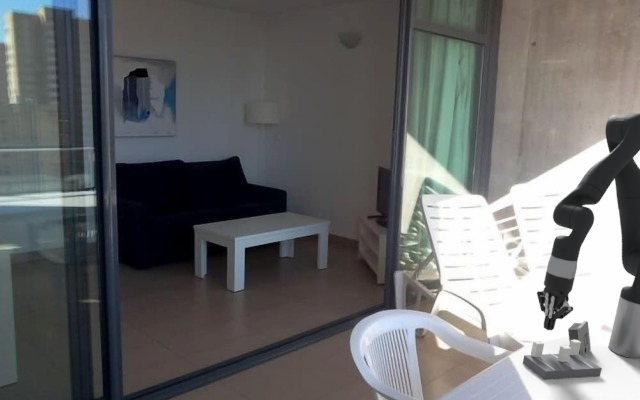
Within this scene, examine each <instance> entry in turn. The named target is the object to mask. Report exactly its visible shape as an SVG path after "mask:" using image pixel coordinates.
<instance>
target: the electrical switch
mask: <svg viewBox="0 0 640 400" xmlns="http://www.w3.org/2000/svg"><path fill="white" fill-rule="evenodd" d="M590 337H591V336H590V329H589V322H588V321H587V320H584V321H582V322H578V323H577V322H574V323H573V324H572V325H571V326H570V327H569V328H568V341H569V343H570V340H578V341H580V342H581V345H580V350H579V354H581V355H582V356H584V357H585V358H586V356H587V355H588V354H589V353H590V352H591V338H590Z"/></svg>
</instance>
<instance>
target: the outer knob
mask: <svg viewBox="0 0 640 400" xmlns="http://www.w3.org/2000/svg"><path fill="white" fill-rule="evenodd" d="M544 347H545V343H544V342H542V341H541V340H533V342H532V346H531V350H530V355H532V356H534V357H542V354H543V351H544Z"/></svg>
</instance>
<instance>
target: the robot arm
mask: <svg viewBox="0 0 640 400" xmlns="http://www.w3.org/2000/svg"><path fill="white" fill-rule="evenodd" d="M604 130H605V131H604V132H605V139H606V144H607V148H608V152H609V153H608V154H607V155H606V156H604V157H603V158H602V159H600V160H598V161H597V162H596V163H595V164H593V166H591V167H590V168H588V170H587V171H586V173H585V174H584V175H583V176H582V178H581V180H580V181H579V183H578V184H577V186H576V188H574V189H573V190H572V191H571V192H569V193H568V194H567V195H566V196H565V197H563V199H562V200H560V201H559V202H558V203H557V205H556V206H555V208H554V210H553V212H552V219H553V221H554V222H553V223H555V224H556V225H558V226H559V227H562V228H565V229H569V230H571V232H570V233H569V235H558V236H557V235H556V237H555V238H554V239H553V240H554V241H553V245H552V249H551V254H550V257H549V260H548V263H547V266H546V272H545V277H544V280H543V281H544V282H543V285H544V288H543V290H542V291H541V290H540V291H537V292H536V295H537V299H538V303H539V308H540V311H541V312H543V313H544V321H543V328H544V329H545V330H546V331H553V330H555V326H556V321H557V320H563V319H564V318H565V317H566V316H568V315H569V314H570V313H572V312H573V311H574V306H572V305H571V306H570V304H569V299H570V298H569V295H570V294H569V293H571V292H572V291H573V287H574V283H575V278H576V274H577V269H578V260H579V256H580V251H581V247H582V245H583V243H584V241H585V239H586V237H587V236H588V234H589V232H590V231H591V229H592V227H593V224H594V222H595V215H594V211H593V210H592V209H591V208H590V207H587V206H586V205H588V206H589V205H590V206H591V205H593V206H594V205H597V204H598V203H599V202H600V201H601V200H602V198H603V197H604V195H605V193H606V192H607V190H608V189H609V188H610V186H611V185H612V183H613V181H614V182H615V193H616V195H615V196H616V201H617V209H618V214H619V215H618V216H619V223H620V224H619V225H620V232H621V263H622V267H623V269H624V270H625V271H626V273H628V274H629V275H631V276H633V277H634V279H633V282H632V284H631V285H630V286H629V285H628V286H623V287H622V288H621V290H620V295H619V299H618V302H617V303H618V304H617V308H616V312H615V316H614V321H613V324H612V328H611V334H610V337H609V342H608V349H609V350H610V351H612V352H613V353H615V354H617V355H619V356H623V357H626V358H630V359H631V358H632V359H639V357H640V166H638V165H637V163H636V161H635V157H636V156H637V154H638V153H639V152H640V112H639V113H638V112H637V113H635V112H634V113H617V114H612V115H611V116H610V117H609V118H608V119H607V121H606V124H605V129H604Z"/></svg>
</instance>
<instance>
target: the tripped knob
mask: <svg viewBox="0 0 640 400" xmlns="http://www.w3.org/2000/svg"><path fill="white" fill-rule="evenodd" d="M570 352H571V348H570V347H569V345H559V350H558V354H559V355H558V360H559V361H561V362H569V357H570Z"/></svg>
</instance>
